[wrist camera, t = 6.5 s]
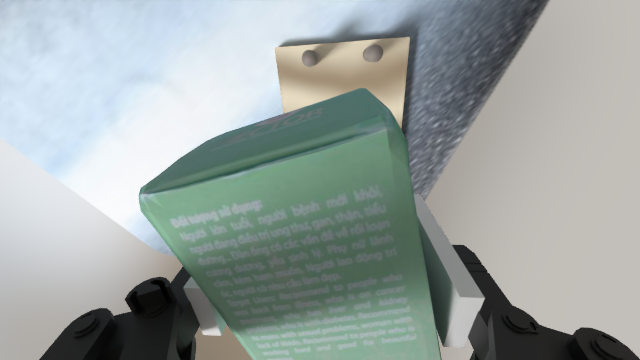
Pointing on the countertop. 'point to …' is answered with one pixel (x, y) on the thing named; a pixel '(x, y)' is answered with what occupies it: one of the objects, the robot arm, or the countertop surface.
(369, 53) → the tray
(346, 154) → the box
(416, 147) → the countertop surface
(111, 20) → the countertop surface
